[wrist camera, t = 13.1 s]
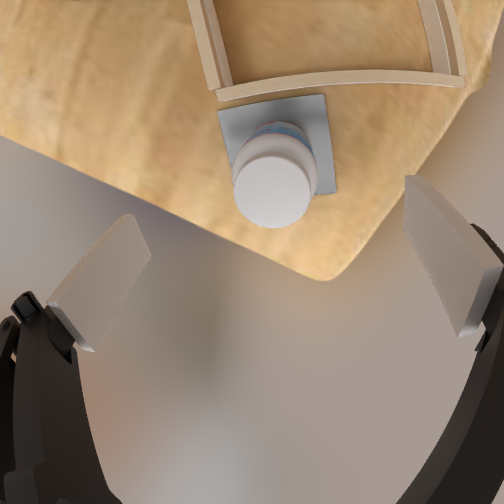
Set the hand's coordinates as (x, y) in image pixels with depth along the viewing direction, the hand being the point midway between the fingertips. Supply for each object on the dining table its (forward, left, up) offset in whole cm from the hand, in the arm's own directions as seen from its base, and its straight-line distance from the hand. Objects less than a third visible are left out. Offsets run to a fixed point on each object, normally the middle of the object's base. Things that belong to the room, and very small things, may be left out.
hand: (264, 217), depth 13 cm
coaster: (0, 0, -16) cm, 16 cm away
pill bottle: (0, 0, -16) cm, 16 cm away
